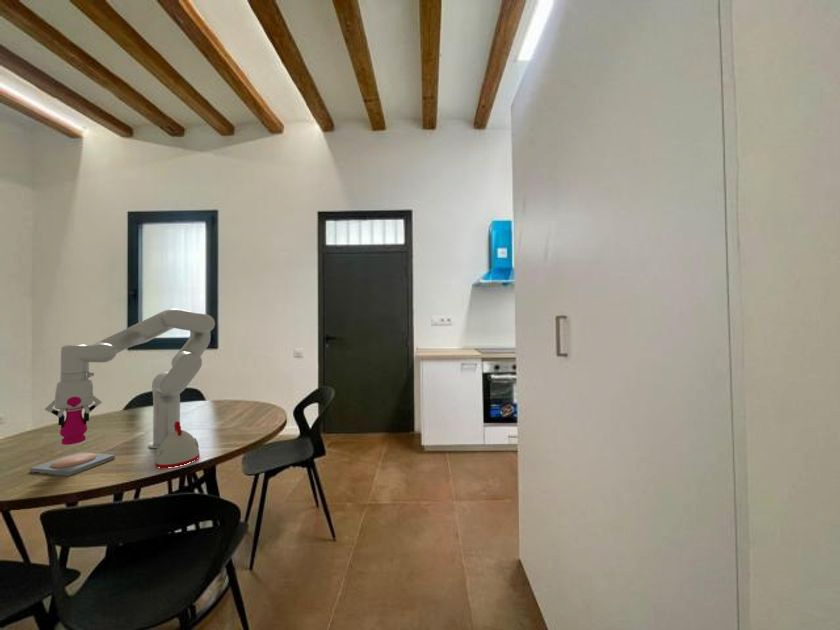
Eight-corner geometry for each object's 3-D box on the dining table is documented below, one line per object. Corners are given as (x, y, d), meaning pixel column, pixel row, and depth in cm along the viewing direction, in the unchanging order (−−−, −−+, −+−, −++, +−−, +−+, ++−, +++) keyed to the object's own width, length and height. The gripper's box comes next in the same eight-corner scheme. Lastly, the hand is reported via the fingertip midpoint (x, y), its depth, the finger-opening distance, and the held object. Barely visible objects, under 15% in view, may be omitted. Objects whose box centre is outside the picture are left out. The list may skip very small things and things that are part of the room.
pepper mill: (73, 445, 123) (73, 390, 124) (53, 445, 123) (54, 390, 124) (92, 438, 131) (93, 387, 131) (74, 438, 131) (75, 387, 131)
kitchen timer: (194, 451, 140) (194, 415, 140) (203, 460, 130) (203, 422, 130) (152, 461, 130) (152, 422, 130) (158, 472, 120) (158, 430, 120)
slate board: (114, 458, 133) (114, 453, 133) (68, 476, 118) (68, 470, 118) (79, 455, 136) (79, 450, 136) (29, 472, 121) (30, 466, 121)
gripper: (105, 373, 136) (104, 418, 136) (42, 378, 124) (41, 427, 124) (105, 375, 131) (105, 422, 130) (39, 381, 119) (38, 432, 118)
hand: (74, 424), depth 127 cm, fingers closed on pepper mill, 5 cm apart
